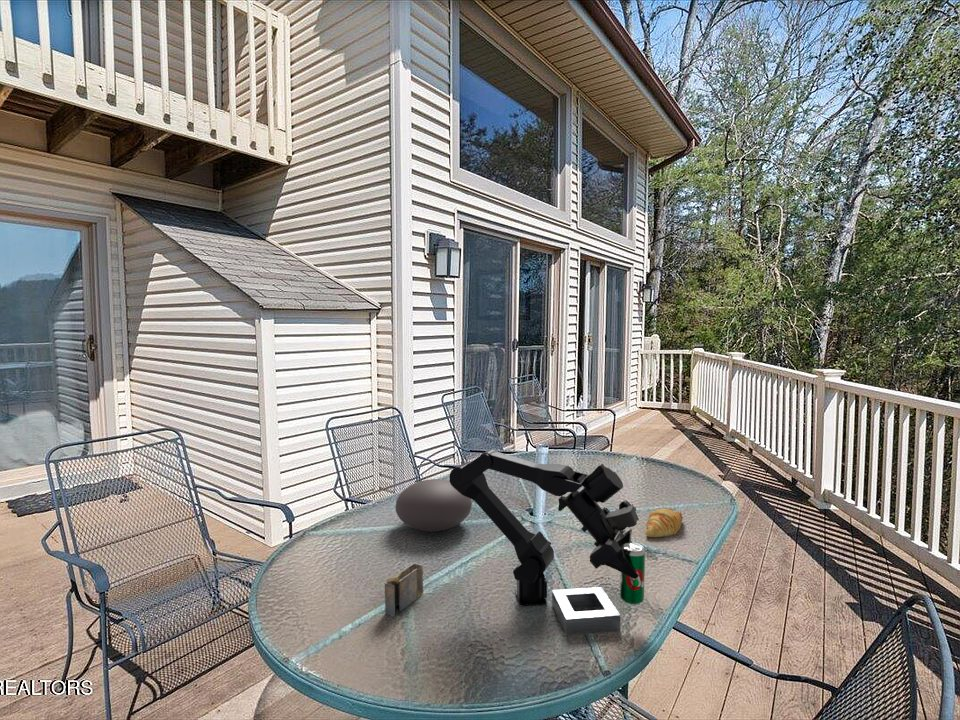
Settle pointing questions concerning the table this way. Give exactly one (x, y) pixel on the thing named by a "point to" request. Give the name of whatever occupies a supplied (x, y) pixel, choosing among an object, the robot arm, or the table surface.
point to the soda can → (629, 586)
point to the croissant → (663, 523)
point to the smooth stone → (432, 505)
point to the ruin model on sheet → (403, 588)
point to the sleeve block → (585, 621)
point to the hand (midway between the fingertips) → (639, 571)
